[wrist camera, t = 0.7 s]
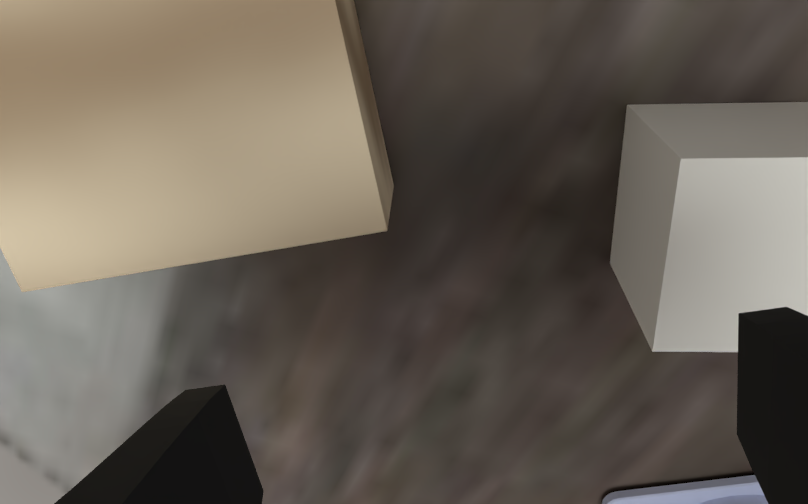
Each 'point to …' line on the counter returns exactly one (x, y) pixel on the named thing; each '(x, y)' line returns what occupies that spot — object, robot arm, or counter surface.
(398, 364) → the counter surface
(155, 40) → the maple block
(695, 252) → the off-white cardboard box
